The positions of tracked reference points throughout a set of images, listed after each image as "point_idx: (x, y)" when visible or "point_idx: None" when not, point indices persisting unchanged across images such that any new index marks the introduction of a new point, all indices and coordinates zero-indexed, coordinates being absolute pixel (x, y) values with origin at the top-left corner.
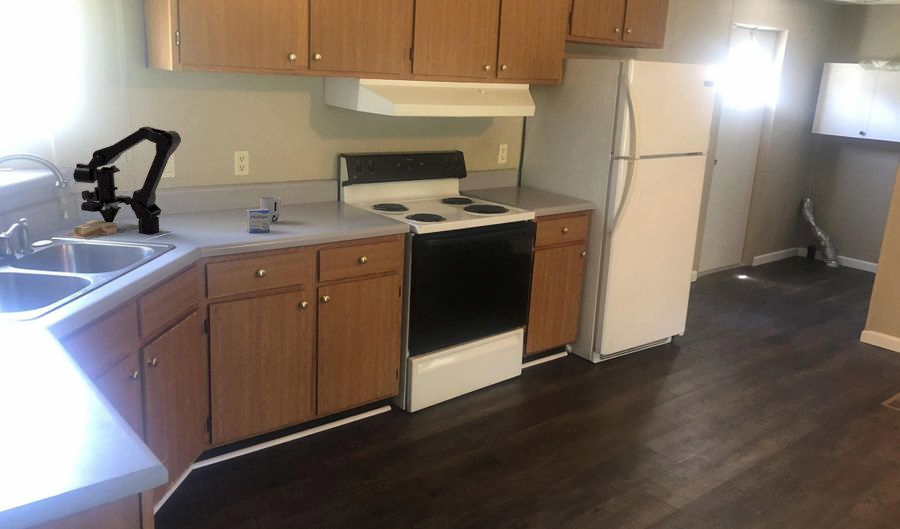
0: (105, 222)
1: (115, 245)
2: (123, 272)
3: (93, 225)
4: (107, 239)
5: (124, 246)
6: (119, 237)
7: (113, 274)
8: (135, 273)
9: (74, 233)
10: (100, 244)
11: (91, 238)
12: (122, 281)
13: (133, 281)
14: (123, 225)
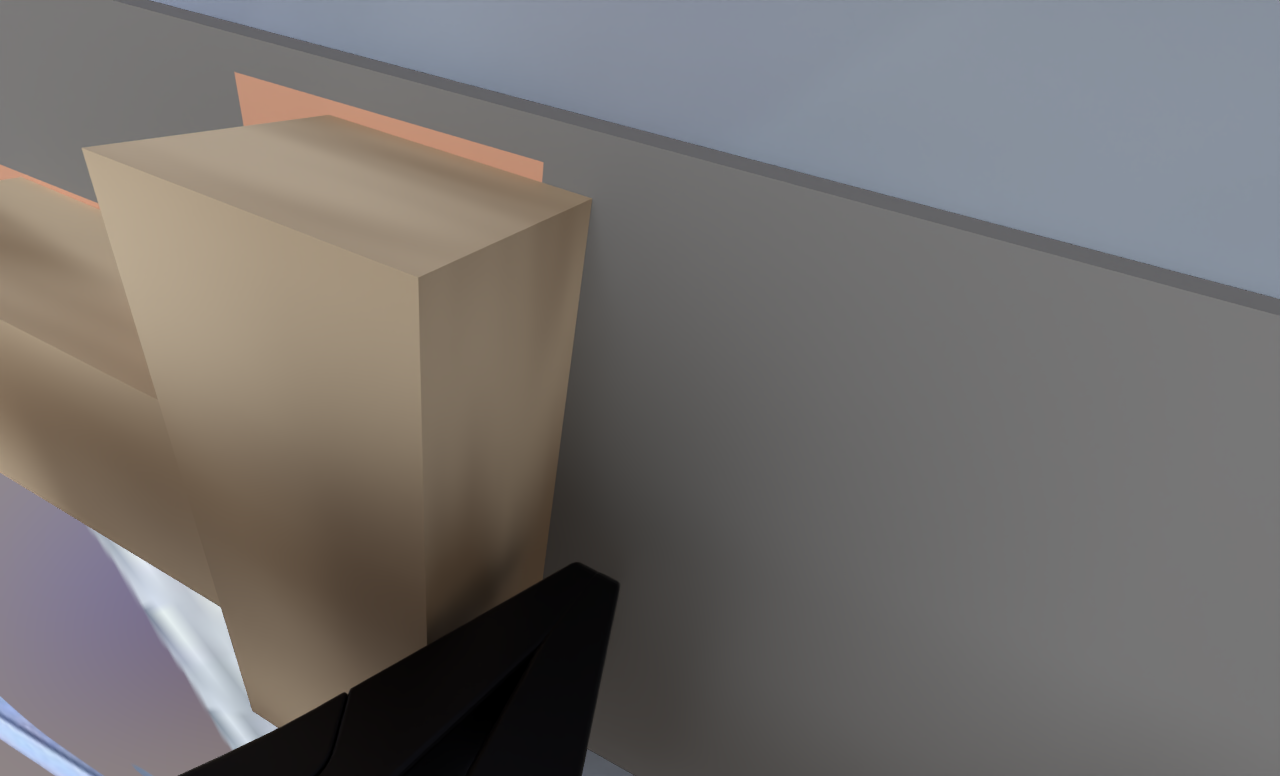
0: (366, 659)
1: (203, 684)
2: (37, 734)
3: (87, 506)
4: None
5: (230, 738)
6: None
7: (4, 706)
8: (64, 767)
9: (50, 76)
10: (140, 580)
11: None
12: (6, 732)
13: (31, 758)
14: (1145, 770)
